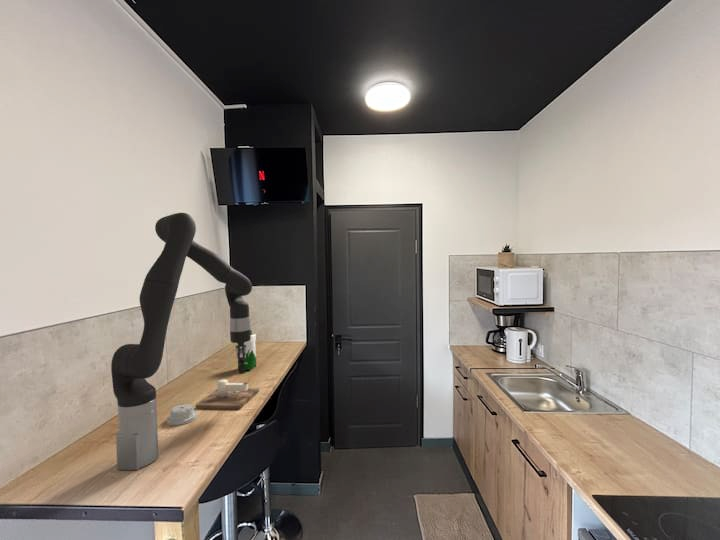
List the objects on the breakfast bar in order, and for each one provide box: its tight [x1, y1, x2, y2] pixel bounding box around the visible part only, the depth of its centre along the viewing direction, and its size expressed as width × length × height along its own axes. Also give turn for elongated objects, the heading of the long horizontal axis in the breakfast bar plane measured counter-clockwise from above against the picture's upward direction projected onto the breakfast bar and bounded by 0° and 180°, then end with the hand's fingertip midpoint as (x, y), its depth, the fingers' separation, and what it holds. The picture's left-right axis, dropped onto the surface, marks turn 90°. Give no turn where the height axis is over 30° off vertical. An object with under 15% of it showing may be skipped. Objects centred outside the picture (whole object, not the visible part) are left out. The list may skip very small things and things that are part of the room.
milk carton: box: [236, 330, 257, 371], centre depth 182 cm, size 9×9×20 cm
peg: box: [216, 378, 249, 397], centre depth 140 cm, size 4×13×6 cm, turn 84°
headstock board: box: [195, 387, 260, 410], centre depth 141 cm, size 18×18×2 cm
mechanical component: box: [165, 403, 198, 426], centre depth 124 cm, size 10×4×10 cm
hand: (242, 373), depth 133 cm, fingers closed
